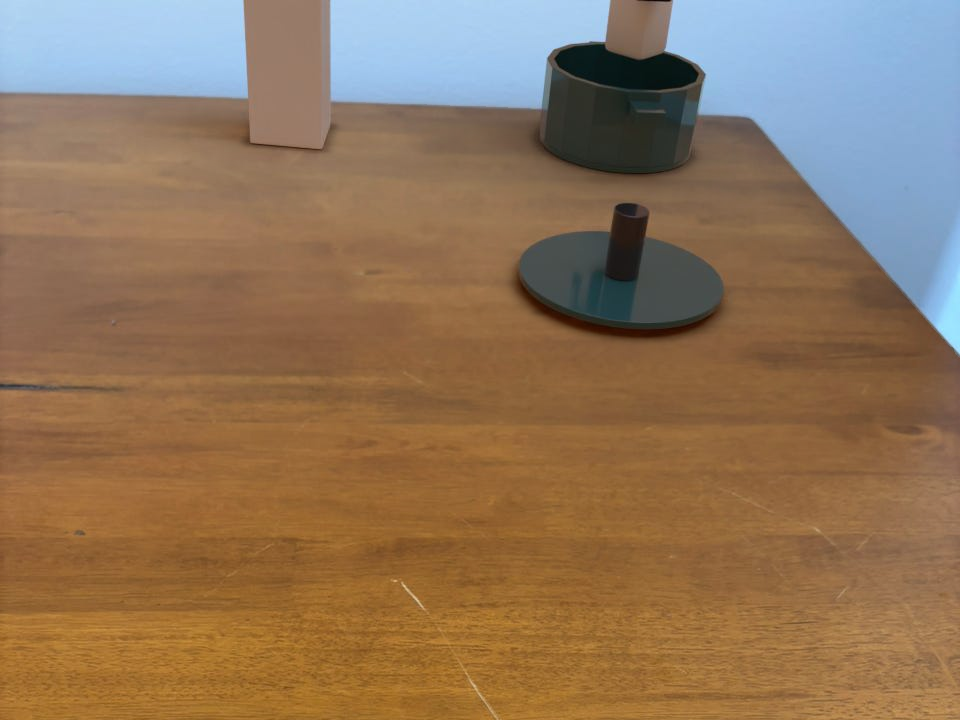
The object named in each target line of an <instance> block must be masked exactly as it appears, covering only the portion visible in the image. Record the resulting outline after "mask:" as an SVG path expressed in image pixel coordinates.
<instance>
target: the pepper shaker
mask: <svg viewBox="0 0 960 720" xmlns="http://www.w3.org/2000/svg"><path fill="white" fill-rule="evenodd" d="M673 4H674V0H671V1H670V2H658V1H637V0H609V7H608V8H609V11H608V16H607V24H606V33H605V39H604V40H605V41H604V42H605V47H606V49H607V50H608V51H610V52H612V53H616V54H619V55H623V56H626V57H630V58H633V59H636V60H642V59H646V58H649V57H652V56H655V55H658V54H661V53H663V52H664V51H666V48H667V43H668V36H669V30H670V24H671V17H672V11H673Z"/></svg>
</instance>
